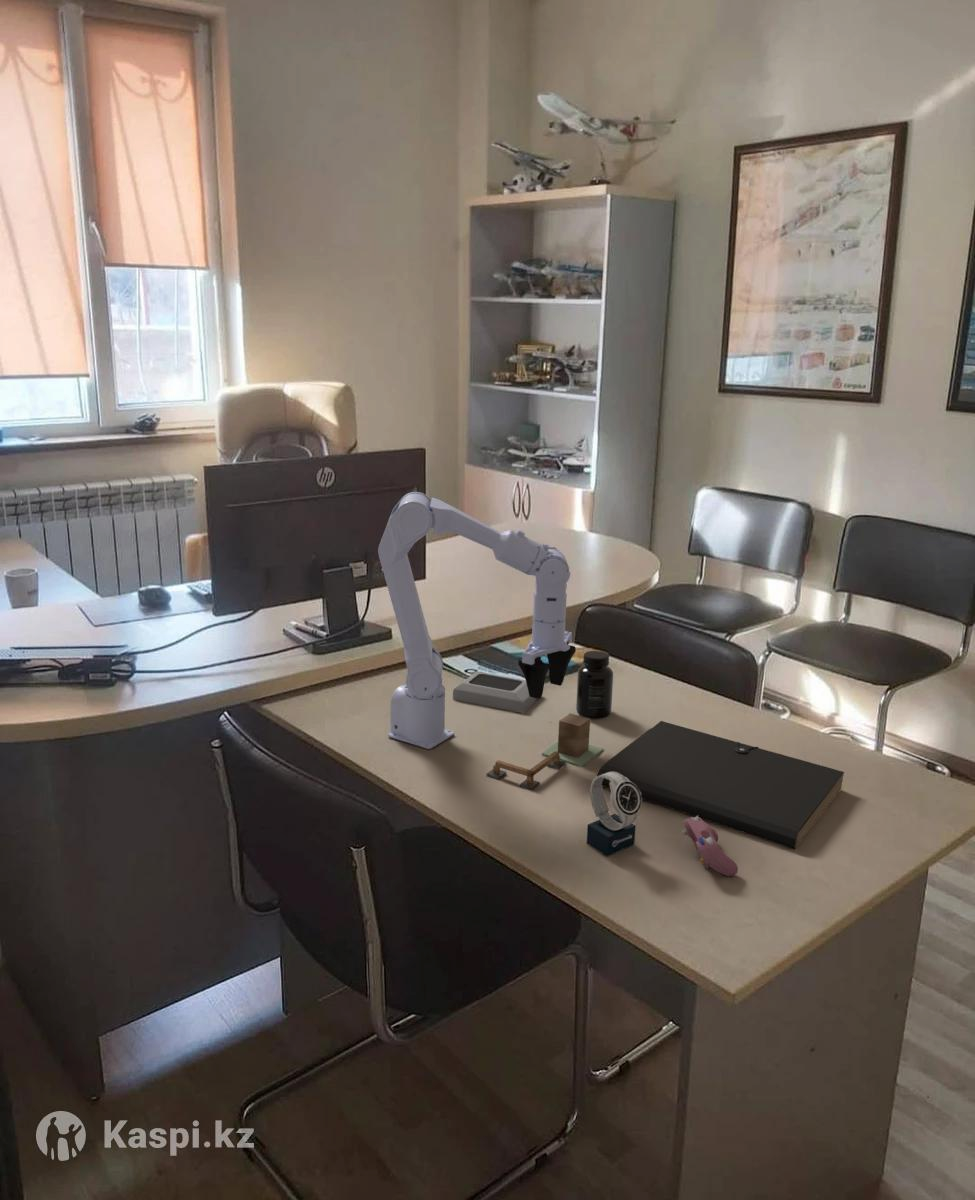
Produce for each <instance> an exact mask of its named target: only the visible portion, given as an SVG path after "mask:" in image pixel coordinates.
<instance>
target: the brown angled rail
mask: <svg viewBox="0 0 975 1200" xmlns="http://www.w3.org/2000/svg"><path fill="white" fill-rule="evenodd" d="M566 765H567V762H564V761H561V760H560V756H559V752H556V751H555V752H553V753H552V754H550V755H549V756H548V757H547V756H545V758H544V759H542V760H541V761H540V762H538V763H537V764H536V765H534V766H533V767H532V768H530V769H527V768H524V767H521V766H520V765H519V766H518V765H514V764H511V763H509V762H505V761H501V760H496V761H495V764H493V768H492V769H490V770H489V771H488V772H486V777H490V778H493V779H497V780H500V779H502V778H503V777H505V775H507V771H509V772H513V773H516V774H519V775H523V776H526V779H525V780H523V781H522V782H520V783H519V787H522V788H526V789H529V790H532V791H533V790H535V789H536V788H538V787H539V786H540V785H541V782H540V781H537V780H535V779H534V777H535V775H537V773H539V772H541V771H542V770H543V769H545V768H546V767H550V768H553V769H555V770H561V769H562V768H564V767H565V766H566ZM502 769H503V770H502ZM505 770H506V771H505Z"/></svg>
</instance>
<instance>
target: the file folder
mask: <svg viewBox="0 0 975 1200" xmlns="http://www.w3.org/2000/svg"><path fill="white" fill-rule="evenodd" d="M608 772H617V773H620V774H621V775H623V776H624V777H627V778H628V779H629V780H630V782H632V783H634V784H635V785H636V786H637V788H638V789H639V791H640V792H641V800H645V801H648V802H651V803H653V804H656V805H660V806H662V807H666V808H669V809H672V810H674V811H678V812H680V813H684V814H687V815H690V816H692V817H696V816H697V815H698V817H699V818H701V819H702V820H706V821H708V822H711V823H715V824H716V825H721V826H724V827H726V828H729V829H732V830H736V831H739V832H742V833H745V834H748V835H751V836H753V837H756V838H760V839H762V840H766V841H769V842H772V843H775V844H778V845H782V846H785V847H787V848H791V849H793V850H796V848H797V847H798V846H799V845H800V843H801V842H802V840H803V838H804V837H805V836H806V835H808V832H809V831H810V830H811V829H812V828H813V827H814V825H815V824H816V823H817V822H818V820H819V819H820V818H821V817H822V816H823V814H824V813H825V811H826V810H827V809H828V808H829V807H830V806H831V804H832V802H833V801H834V800H835V799H836V797H837V796H838V795H837V793H838V792H839V791H840V789H841V790H842V788H843V787H842V786H843V781H844V775H845V774H844V773H845V771H842V770H838V769H835V768H831V767H828V766H824V765H820V764H817V763H813V762H810V761H806V760H802V759H799V758H797V757H796V758H795V757H792V756H788V755H785V754H781V753H777V752H775V751H774V752H773V751H771V750H767V749H763V748H759V746H754V745H753V746H752V745H749V744H745V743H742V742H740V741H735V740H732V739H731V740H730V739H728V738H724V737H720V736H716V735H714V734H709V733H706V732H702V731H699V730H695V729H691V728H688V727H684V726H682V725H677V724H674V723H671V722H670V723H669V722H666V721H663V720H660V721H659V722H657V723H656V724H655V725H654V726H652V727H651V728H648V730H646V731H645V732H644V733H642V734H641V735H640V736H639V737H637V738H636V739H634V740H633V741H632V742H630V744H628V745H626V747H624V748H622V749H621V750H620V751H619V752H617V753H616V754H615V755H613V756H612V757H611V758H610V759H609V760H607V761H606V762H604V764H602V765H601V766H600V767H599V769H598V771H597V774H596V777H597V776H600V775H602V774H605V773H608ZM610 782H611V781H609V779H606V778H604V779H603V781H602V787H605V788H608V789H610V785H609V783H610ZM840 792H841V791H840ZM840 792H839V793H840ZM839 793H838V794H839ZM836 795H837V796H836ZM835 796H836V797H835ZM833 799H834V800H833ZM830 803H831V804H830ZM827 807H828V808H827ZM823 812H824V813H823ZM820 816H821V817H820ZM819 817H820V818H819ZM818 818H819V819H818ZM817 819H818V820H817ZM814 823H815V824H814Z"/></svg>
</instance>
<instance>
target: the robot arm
mask: <svg viewBox="0 0 975 1200" xmlns="http://www.w3.org/2000/svg"><path fill="white" fill-rule="evenodd" d="M385 526H386V527H385V529H384V532H383V535H382V537H381V539H380V543H379V544H378V547H377V548H378V549H377V552H378V557H379V561H380V565H381V568H382V573H383V575H384V579H385V582H386V586H387V589H388V595H389V597H390V601H391V605H392V609H393V611H394V612H393V613H394V615H395V619H396V622H397V623H396V624H397V627H398V630H399V633H400V634H399V635H400V637H401V640H402V644H403V650H404V658H405V665H406V669H407V671H406V672H407V673H406V676H405V684H401V685H399V686H398V687H397V688H396V689H395V690H394V692H393V694H392V696H391V699H390V731H389V733H388V734H387V737H388V738H391V739H394V740H398V741H402V742H405V743H408V744H410V745H411V744H412V745H415V746H417V747H420V748H424V749H426V750H427V749H428V750H430V749H433V748H434V747H436V746H438V745H439V744H441V743H443V742H444V741H446V740H447V739H449V738H451V737H453V736H454V735H455V732H454V730H453V731H452V730H450V729H447V728H445V726H446V725H445V721H446V720H445V714H446V688H445V686H444V684H443V678H442V677H443V675H442V674H443V669H444V660H443V657H442V655H441V654H440V653H439V652H438V651H437V650H436V647H435V646H434V642H433V640H432V638H431V636H430V634H429V631H428V626H427V623H426V619H425V615H424V612H423V608H422V604H421V600H420V597H419V593H418V589H417V587H416V586H417V584H416V583H415V579H414V578H415V577H414V573H413V571H412V567H411V562H410V559H409V556H408V553H409V552H410V550H411V549H412V548H413V546H414V544H416V542H417V541H419V540H421V539H422V538H424V537H425V536H426V535H427V534H428V533H429V532H430V530H431V528H432V529H433V534H432V535H438V534H444V533H449V532H451V533H454V534H456V535H458V536H461V537H463V538H466V539H467V540H471V541H472V542H475V543H477V544H479V545H480V546H481V545H482V546H483V547H486V548H488V549H491V550H492V552H493V556H494V558H495V560H496V561H499V562H500V563H502V564H505V565H506V566H509V567H510V568H513V569H515V570H517V571H519V572H521V573H523V574H525V575H527V576H533V577H535V590H534V592H533V604H532V605H533V608H532V628H531V629H532V630H531V631H532V635H531V640H530V642H529V643H528V645H527V647H526V649H525V650H524V651H522V655H521V656H520V657H519V658H518V659H517V665H518V666H519V667H520V670H521V672H522V674H523V675H524V679H525V680H526V683H527V687H528V692H529V696H530V697H533V698H537V700H540V699H542V696H543V694H544V688H545V686H544V685H545V680H546V677H547V675H549V676H548V677H549V683H550V684H551V685H555V686H559V687H561V686H562V685H563V683H564V680H565V676H566V672H567V669H568V667H569V664H570V663H571V659H572V658H573V656H574V654H575V653H576V650H577V647H576V646H574V645H571V643H573V632H570V631H567V630H566V618H567V617H566V615H567V597H568V595H567V592H566V591H567V587H568V586H567V583H568V582H569V579H570V577H571V572H570V566H569V564H568V561H567V559H566V557H565V555H564V553H563V552H561V551H560V550H559V549H558V548H556V546H549V544H547V543H543V544H541V543H540V542H537V541H535V540H533V539H531V538H528V537H527V536H526V533H525V531H523V530H521V529H517V530H516V531H515V530H513V529H508V530H504V531H498V530H497V529H494V528H493V527H491V526H489V525H487V524H486V523H483V521H480V520H478V519H476V518H475V517H473V516H471V515H469V514H467V513H466V512H464V511H462V510H460V509H458V508H457V507H454V506H453V505H451V504H448V503H446V502H444V501H442V500H440V499H439V498H435V497H431V498H430V497H429V496H428V495H427V494H425V493H423V492H420V491H411V492H409V493H406V494H405V495H404V496H402V497H401V498H400V499H399V500H398V502H397V504H396V505H395V506H394V507H393V509H392V511H391V513H390V516H389V518H388V521H387V523H386V525H385ZM544 656H546V657H547V661H548V663H547V662H544V661H543V660H542V657H544Z"/></svg>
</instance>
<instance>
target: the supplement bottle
mask: <svg viewBox="0 0 975 1200" xmlns="http://www.w3.org/2000/svg"><path fill="white" fill-rule="evenodd" d="M582 662H583V663H582V664H583V665H581V666H580V667H579V668H578V670H577V680H576V681H577V682H576V703H575V707H576V708H575V709H576V713H577V715H578V716H582V717H586V718H590V720H598V719H599V720H600V719H606V718H607V717H609V716H610V715H611V714H612V706H613V705H612V704H613V689H614V687H613V686H614V672H613V669H612V668H611V667H610V666H609V665H610V655H609V654H608V653H607V652H605V651H600V650H588V651H586V652H584V653H583V660H582Z"/></svg>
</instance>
